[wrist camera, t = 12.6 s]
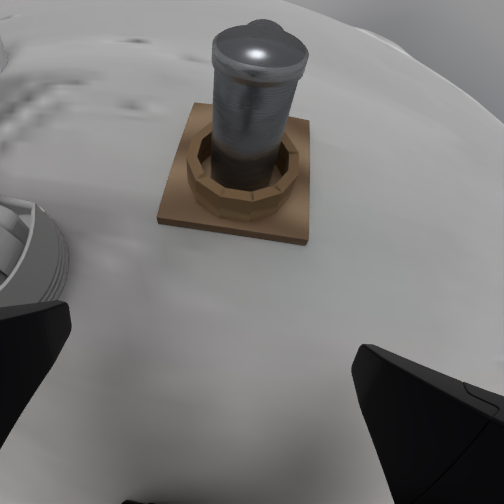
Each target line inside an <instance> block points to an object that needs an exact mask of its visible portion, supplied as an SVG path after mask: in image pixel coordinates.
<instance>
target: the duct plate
mask: <svg viewBox="0 0 504 504" xmlns="http://www.w3.org/2000/svg"><path fill="white" fill-rule="evenodd" d="M212 112H213V105H212V104H203V103H194V105H193V107H192V110H191V113H190V115H189V118H188V121H187V124H186V126H185V129H184V132H183V135H182V138H181V141H180V143H179V146H178V149H177V152H176V155H175V158H174V161H173V164H172V168H171V171H170V174H169V177H168V180H167V183H166V187H165V190H164V193H163V197H162V200H161V203H160V207H159V210H158V214H157V221H158V223H159V224H166V225H173V226H180V227H187V228H194V229H200V230H207V231H214V232H221V233H227V234H234V235H240V236H247V237H254V238H260V239H267V240H273V241H279V242H286V243H292V244H299V245H306V243H307V242H308V239H309V194H310V132H309V120H304V119H299V118H294V117H289V116H288V119H287V122H286V126H285V130H284V133H283V137H282V140H281V144H280V148H279V151H278V155H277V158H276V162H275V166H274V169H273V173H272V176H271V180H270V184H269V187H267V188H263V189H260V190H256V191H253V192H249V191H242V190H236V189H229V188H225V187H223V186H222V185H220V184H219V183H217V182H216V181H214V180H213V179H211V139H212Z"/></svg>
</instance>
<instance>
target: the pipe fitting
mask: <svg viewBox="0 0 504 504" xmlns="http://www.w3.org/2000/svg"><path fill="white" fill-rule="evenodd" d="M308 56H309V53H308V50H307V48H306V47H305V45H304V44H303V43H302V42H301V41H300V40H299V39H298V38H296V37H295V36H293V35H291V34H289V33H287V32H285V31H284V30H283V29H282V27H281V26H280V25H278V24H277V23H275V22H273V21H270V20H266V19H259V20H255V21H252V22H250V23H248V24H247V25H242V26H236V27H232V28H229V29H226V30H224V31H222V32H221V33H219V34H218V35H217V36H216V37H215V38H214V40H213V44H212V65H213V67H214V68H215V71H214V90H213V112H212V139H211V179H213V180H214V181H216V182H217V183H219V184H220V185H222V186H223V187H225V188H229V189H236V190H242V191H249V192H253V191H256V190H260V189H263V188H267V187H269V184H270V180H271V176H272V173H273V169H274V166H275V162H276V158H277V155H278V151H279V148H280V144H281V140H282V137H283V133H284V130H285V126H286V122H287V119H288V115H289V112H290V108H291V104H292V101H293V97H294V94H295V90H296V86H297V83H298V80H299V79H301V77H302V76H303V74H304V71H305V67H306V64H307V60H308Z"/></svg>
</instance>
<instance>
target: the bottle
mask: <svg viewBox="0 0 504 504" xmlns="http://www.w3.org/2000/svg"><path fill="white" fill-rule="evenodd" d="M7 62H8V58H7V55H6V52H5V49H4V46H3V43H2V40H1V37H0V73H1V72H2V70H3V69H4V68H5V66H6V65H7Z"/></svg>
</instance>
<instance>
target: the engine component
mask: <svg viewBox="0 0 504 504" xmlns="http://www.w3.org/2000/svg"><path fill="white" fill-rule="evenodd" d="M68 263H69V257H68V249H67V244H66V242H65V239H64V237H63V235H62V233H61V232H60V231H59V229H58V228H57V227H56V225H55V224H54V223H53V221H52V220H51V219H50V217H49V216H48V215H47V213H46V212H45V211H44V210H43V209H42V208H41V207H40V206H38V205H37V204H36V203H33V202H30V201H25V200H19V199H14V198H10V197H7V196H4V195H1V194H0V307H7V306H15V305H23V304H30V303H38V302H46V301H53V300H58V298H59V296H60V294H61V292H62V290H63V287H64V284H65V281H66V278H67V273H68Z"/></svg>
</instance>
